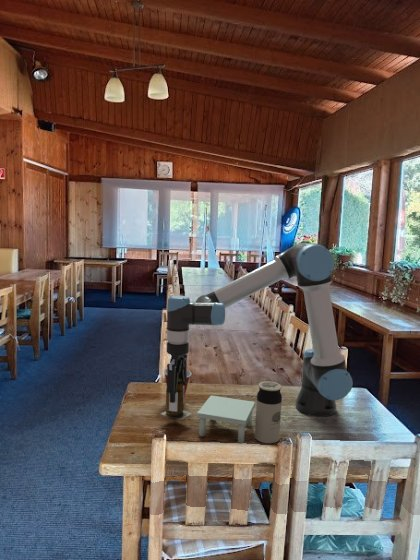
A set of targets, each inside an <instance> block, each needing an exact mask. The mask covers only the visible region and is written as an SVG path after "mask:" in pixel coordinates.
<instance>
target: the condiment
mask: <svg viewBox="0 0 420 560" xmlns="http://www.w3.org/2000/svg"><path fill="white" fill-rule="evenodd" d="M177 392H178V404H177V412H175V411H169V393H167V387H166V389H165V411H164V412H163V411H162V412H161V413H160V415H162V416H165V417H168V418H172V419H175V420H178V421H180V420H183V419H185V418H187V417H188V416H191V415H192V414H193V413H192V412H189V411H186V410H184V404H185V397H184V388H183V380H182V379H180V378H178V384H177ZM183 401H184V402H183ZM183 403H184V404H183Z"/></svg>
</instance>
